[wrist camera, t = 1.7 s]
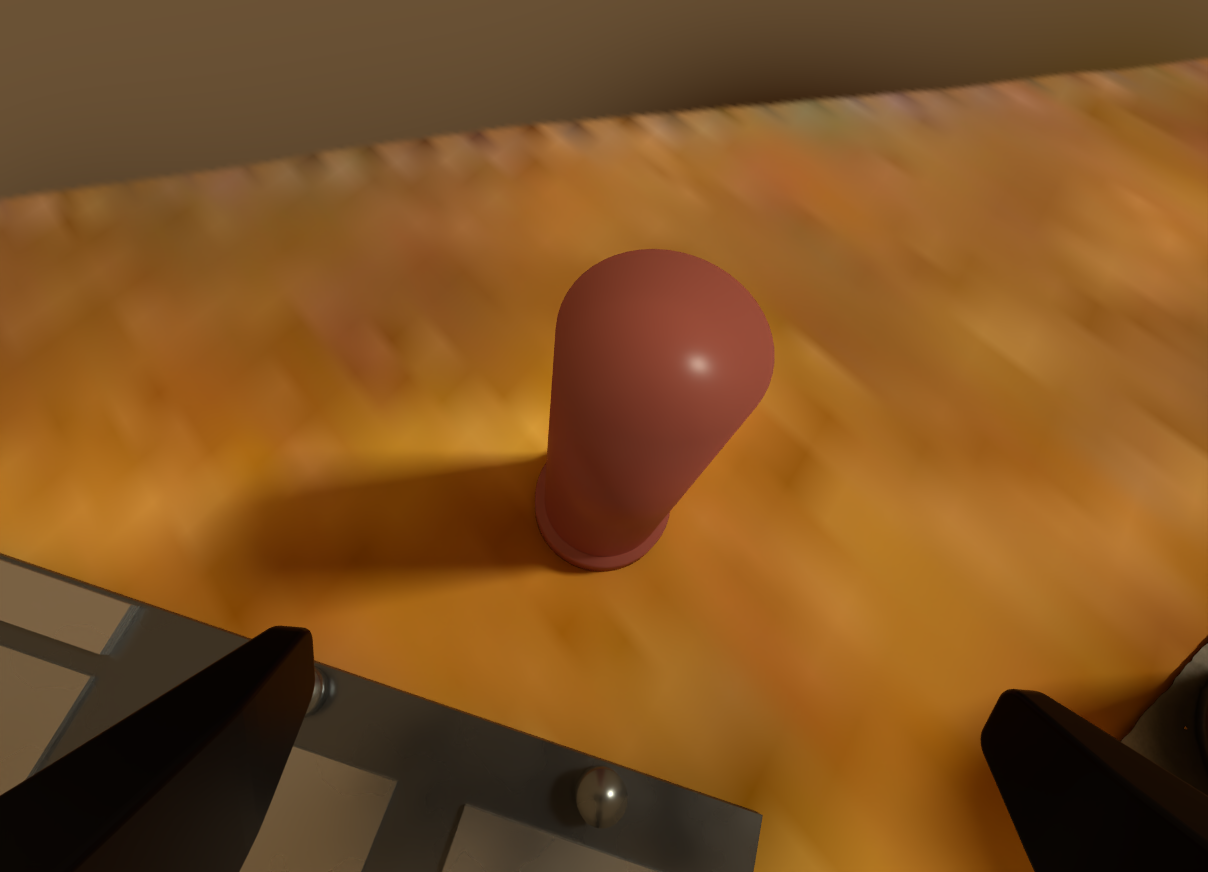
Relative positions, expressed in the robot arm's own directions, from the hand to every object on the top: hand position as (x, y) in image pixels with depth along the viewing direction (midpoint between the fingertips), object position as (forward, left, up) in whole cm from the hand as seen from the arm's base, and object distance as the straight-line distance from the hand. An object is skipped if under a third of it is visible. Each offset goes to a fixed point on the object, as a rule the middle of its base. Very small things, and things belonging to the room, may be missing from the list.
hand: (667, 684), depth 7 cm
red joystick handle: (+6, +1, -12) cm, 13 cm away
